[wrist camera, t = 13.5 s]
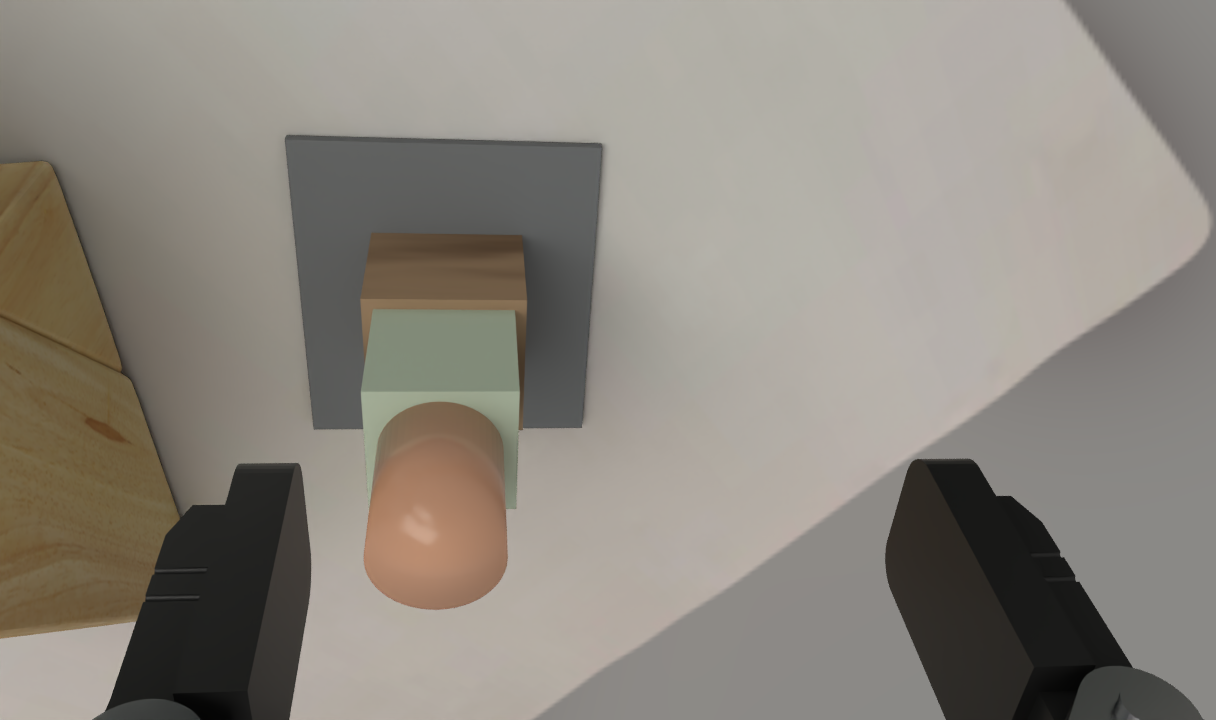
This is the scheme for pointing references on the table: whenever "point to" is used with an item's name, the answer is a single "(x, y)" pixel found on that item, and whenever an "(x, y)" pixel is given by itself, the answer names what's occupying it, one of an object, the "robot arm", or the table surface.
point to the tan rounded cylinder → (437, 507)
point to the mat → (445, 204)
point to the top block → (443, 373)
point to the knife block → (67, 432)
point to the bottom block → (447, 279)
